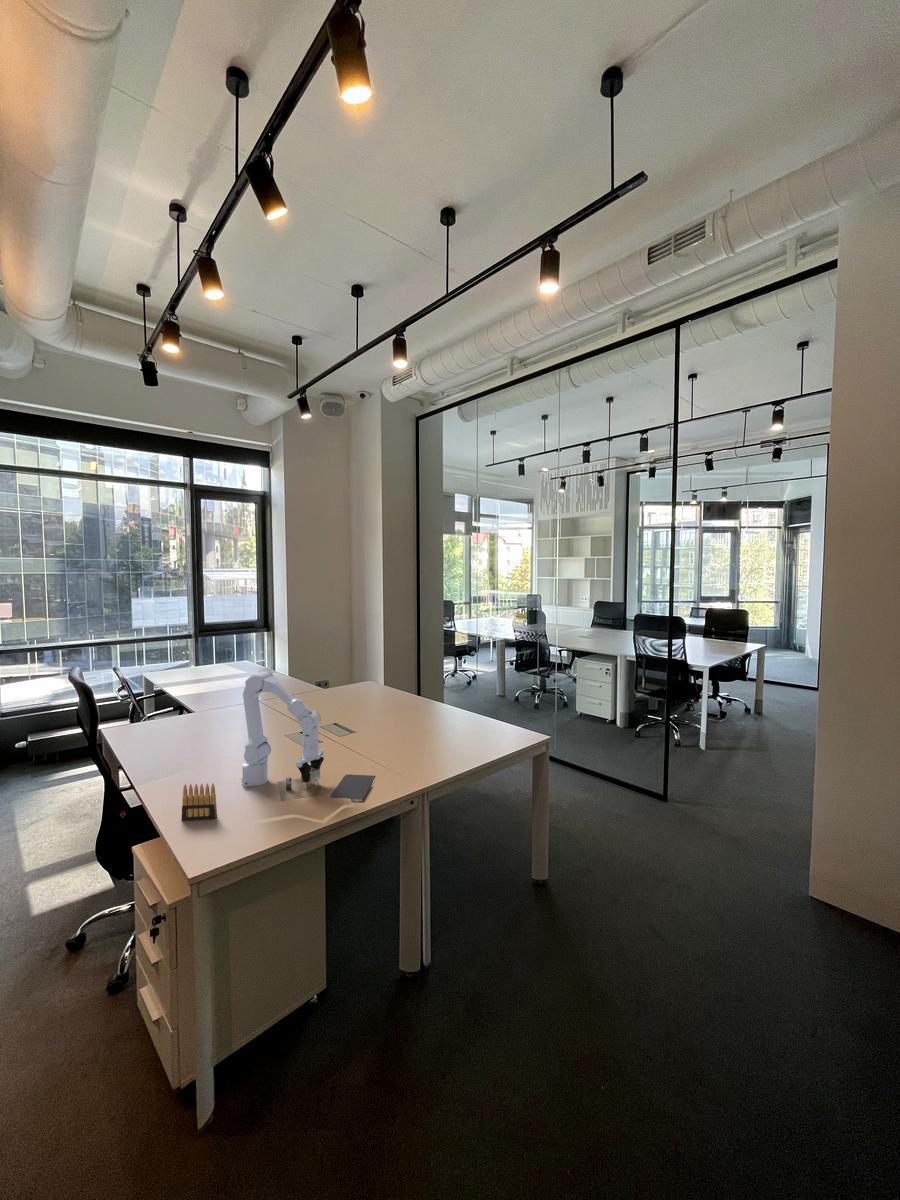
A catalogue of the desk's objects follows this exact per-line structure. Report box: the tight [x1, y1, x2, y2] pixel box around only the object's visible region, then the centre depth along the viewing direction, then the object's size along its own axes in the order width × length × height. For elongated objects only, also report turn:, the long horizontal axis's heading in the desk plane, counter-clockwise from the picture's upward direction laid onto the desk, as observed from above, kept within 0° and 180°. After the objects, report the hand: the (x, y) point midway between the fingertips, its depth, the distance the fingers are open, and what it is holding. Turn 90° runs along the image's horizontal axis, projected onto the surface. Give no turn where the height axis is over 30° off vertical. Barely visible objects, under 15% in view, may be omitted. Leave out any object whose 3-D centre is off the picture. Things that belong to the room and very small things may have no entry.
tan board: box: [277, 777, 324, 802], centre depth 185 cm, size 15×18×1 cm
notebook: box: [329, 774, 377, 802], centre depth 187 cm, size 13×2×21 cm
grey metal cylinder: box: [285, 776, 293, 791], centre depth 183 cm, size 2×2×4 cm
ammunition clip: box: [180, 782, 218, 822], centre depth 162 cm, size 11×2×12 cm, turn 97°
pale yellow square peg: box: [306, 783, 315, 788], centre depth 186 cm, size 2×2×4 cm
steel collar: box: [300, 767, 321, 784], centre depth 186 cm, size 5×5×4 cm
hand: (310, 779), depth 186 cm, fingers closed on steel collar, 5 cm apart
